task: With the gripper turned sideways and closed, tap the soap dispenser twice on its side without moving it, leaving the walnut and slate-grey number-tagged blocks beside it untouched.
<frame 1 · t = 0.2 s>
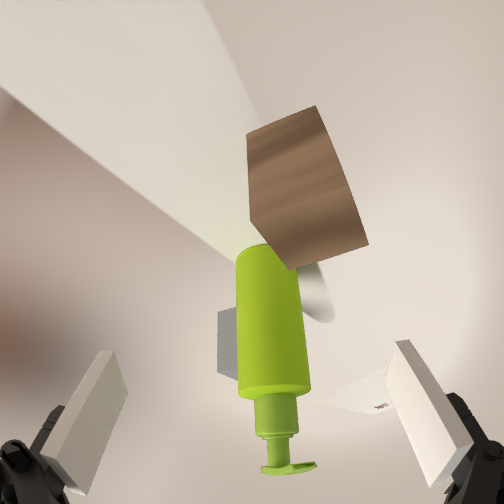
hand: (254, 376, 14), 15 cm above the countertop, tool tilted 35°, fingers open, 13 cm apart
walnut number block: (295, 146, 21), on the countertop
slate number block: (244, 315, 41), on the countertop
key chain: (381, 404, 128), on the countertop
soap dispenser: (267, 257, 32), on the countertop
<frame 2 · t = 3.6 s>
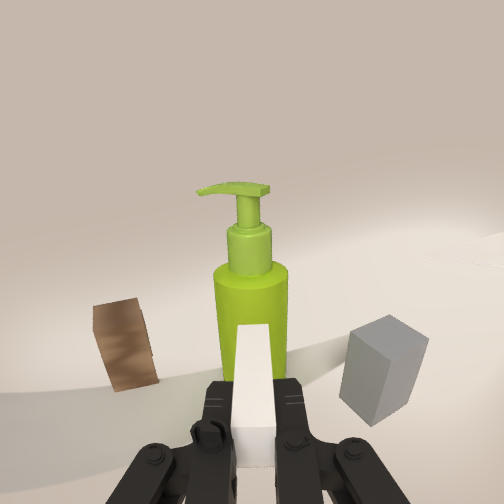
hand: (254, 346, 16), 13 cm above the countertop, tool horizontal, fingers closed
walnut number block: (133, 373, 32), on the countertop
slate number block: (373, 400, 27), on the countertop
soap dispenser: (250, 391, 30), on the countertop
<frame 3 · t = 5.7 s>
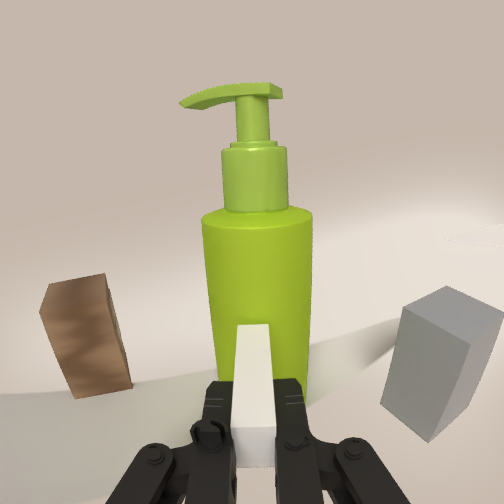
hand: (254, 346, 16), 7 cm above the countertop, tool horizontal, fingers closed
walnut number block: (101, 375, 23), on the countertop
slate number block: (425, 406, 18), on the countertop
soap dispenser: (257, 399, 21), on the countertop, touching gripper
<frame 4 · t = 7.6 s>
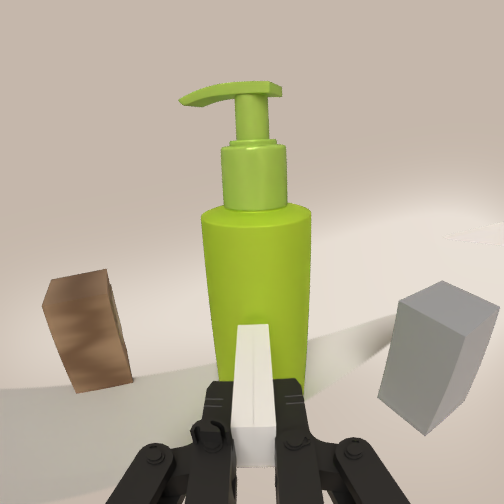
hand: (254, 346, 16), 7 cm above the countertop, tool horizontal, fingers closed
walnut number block: (102, 370, 24), on the countertop
slate number block: (422, 400, 19), on the countertop
soap dispenser: (256, 393, 22), on the countertop
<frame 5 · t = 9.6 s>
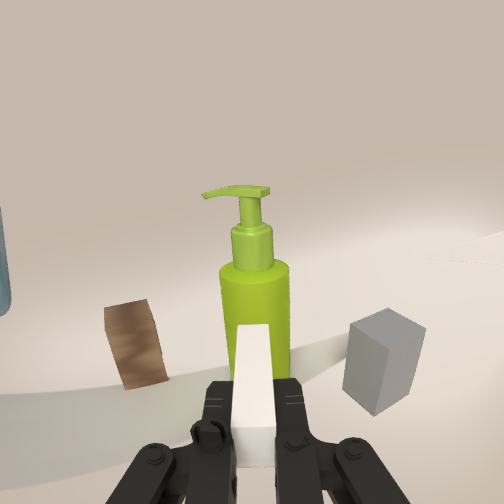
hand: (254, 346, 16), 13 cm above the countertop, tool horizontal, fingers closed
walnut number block: (143, 372, 34), on the countertop
slate number block: (375, 392, 28), on the countertop
soap dispenser: (256, 386, 31), on the countertop
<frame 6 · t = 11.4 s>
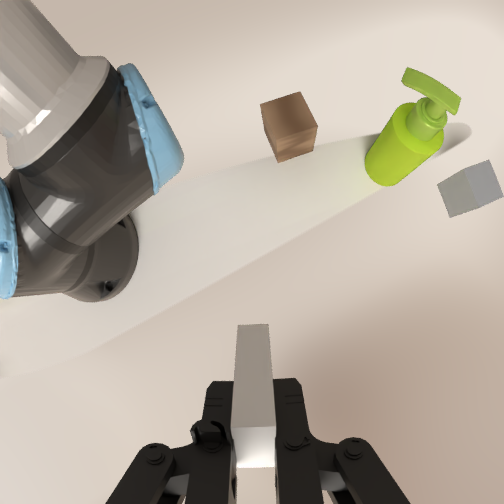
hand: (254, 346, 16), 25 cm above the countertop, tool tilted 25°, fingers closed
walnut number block: (288, 141, 42), on the countertop
slate number block: (456, 196, 39), on the countertop
soap dispenser: (381, 164, 40), on the countertop
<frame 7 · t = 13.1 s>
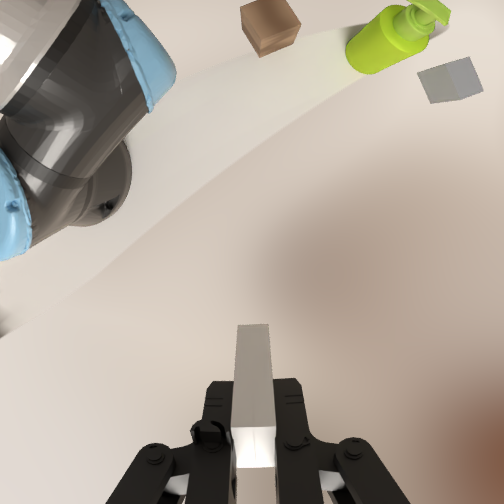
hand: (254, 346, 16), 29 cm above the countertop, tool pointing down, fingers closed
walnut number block: (267, 36, 35), on the countertop
slate number block: (435, 84, 37), on the countertop
soap dispenser: (361, 53, 36), on the countertop
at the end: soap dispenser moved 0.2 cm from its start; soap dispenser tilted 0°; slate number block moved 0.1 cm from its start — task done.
